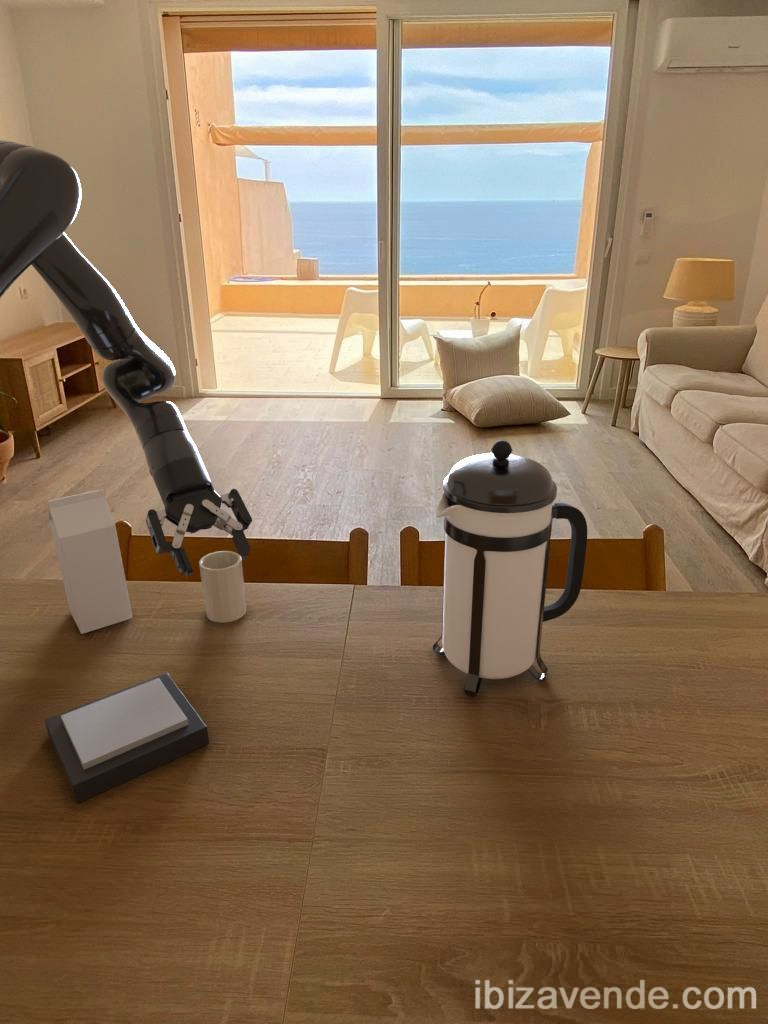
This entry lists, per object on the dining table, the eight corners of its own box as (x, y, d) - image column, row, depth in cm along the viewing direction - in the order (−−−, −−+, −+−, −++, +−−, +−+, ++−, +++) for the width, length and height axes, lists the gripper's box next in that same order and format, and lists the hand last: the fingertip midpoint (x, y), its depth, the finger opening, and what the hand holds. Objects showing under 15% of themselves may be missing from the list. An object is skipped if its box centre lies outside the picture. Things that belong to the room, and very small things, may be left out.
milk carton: (133, 619, 100) (110, 497, 92) (81, 635, 96) (53, 510, 88) (119, 598, 105) (97, 481, 97) (70, 612, 101) (42, 492, 94)
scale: (77, 804, 69) (70, 779, 68) (48, 736, 78) (42, 713, 77) (209, 743, 76) (206, 720, 75) (170, 688, 85) (166, 666, 84)
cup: (216, 627, 97) (209, 574, 94) (199, 609, 102) (192, 558, 98) (253, 613, 101) (248, 562, 97) (236, 597, 105) (230, 547, 101)
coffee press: (533, 719, 79) (557, 475, 67) (410, 677, 87) (411, 449, 74) (575, 643, 93) (602, 427, 81) (466, 612, 100) (475, 410, 88)
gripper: (132, 466, 96) (174, 571, 92) (227, 446, 104) (269, 542, 100) (126, 490, 102) (165, 589, 98) (216, 469, 110) (256, 560, 106)
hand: (218, 565), depth 99 cm, fingers open, 8 cm apart
